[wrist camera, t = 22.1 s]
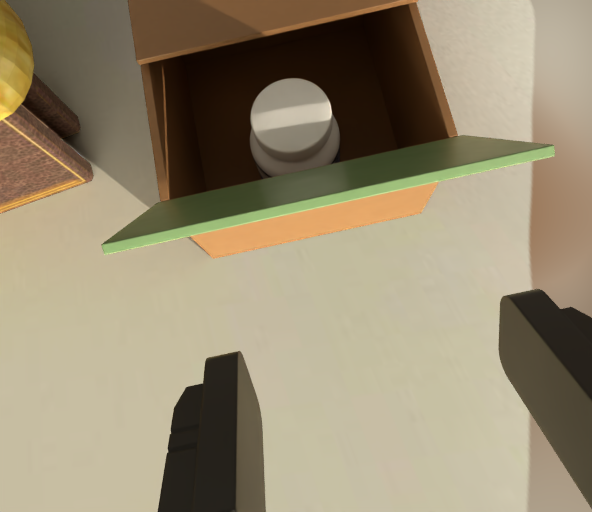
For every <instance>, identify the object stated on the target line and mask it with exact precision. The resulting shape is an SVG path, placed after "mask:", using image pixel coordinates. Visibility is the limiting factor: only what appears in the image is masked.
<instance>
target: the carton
mask: <svg viewBox="0 0 592 512" xmlns="http://www.w3.org/2000/svg"><path fill="white" fill-rule="evenodd" d="M416 2H418V0H128V6H129V12H130V19H131V26H132V33H133V40H134V47H135V54H136V61H137V62H138V64H139V65H141V72H142V79H143V86H144V92H145V99H146V106H147V113H148V120H149V126H150V133H151V140H152V147H153V154H154V160H155V167H156V174H157V181H158V188H159V194H160V201H161V202H163V201H168V200H172V199H177V198H181V197H186V196H190V195H195V194H199V193H204V192H208V191H213V190H217V189H222V188H227V187H231V186H236V185H240V184H245V183H249V182H254V181H258V180H263V179H261V176H260V173H259V171H258V168H257V166H256V163H255V161H254V158H253V156H252V152H251V148H250V133H251V129H252V126H251V119H250V117H251V110H252V106H253V103H254V101H255V99H256V98H257V96H258V95H259V94H260V93H261V91H262V90H264V89H265V88H266V87H267V86H269V85H270V84H272V83H274V82H276V81H279V80H283V79H289V78H298V79H303V80H307V81H310V82H312V83H314V84H315V85H317V86H318V87H319V88H320V89H322V90H323V92H324V93H325V94H326V96H327V98H328V99H329V102H330V105H331V110H332V114H333V116H334V118H335V119H336V121H337V124H338V127H339V132H340V162H344V161H348V160H353V159H358V158H362V157H367V156H371V155H376V154H380V153H385V152H389V151H394V150H398V149H403V148H407V147H412V146H416V145H421V144H425V143H430V142H434V141H439V140H443V139H448V138H452V137H457V136H458V134H457V131H456V128H455V124H454V121H453V118H452V115H451V112H450V109H449V105H448V102H447V99H446V96H445V93H444V90H443V86H442V83H441V80H440V77H439V74H438V70H437V67H436V64H435V61H434V58H433V55H432V51H431V48H430V45H429V42H428V39H427V36H426V32H425V29H424V26H423V23H422V20H421V17H420V13H419V10H418V7H417V4H416ZM338 163H339V162H338ZM334 164H335V163H334ZM329 165H330V164H329ZM325 166H326V165H325ZM320 167H321V166H320ZM316 168H317V167H316ZM311 169H312V168H311ZM307 170H308V169H307ZM302 171H303V170H302ZM298 172H299V171H298ZM293 173H294V172H293ZM288 174H290V173H288ZM284 175H285V174H284ZM279 176H281V175H279ZM275 177H276V176H275ZM270 178H272V177H270ZM266 179H267V178H266ZM437 184H438V182H435V183H430V184H426V185H421V186H417V187H412V188H408V189H403V190H398V191H394V192H389V193H385V194H380V195H376V196H371V197H367V198H362V199H357V200H353V201H348V202H344V203H339V204H335V205H330V206H326V207H321V208H316V209H312V210H307V211H303V212H298V213H294V214H289V215H285V216H280V217H275V218H271V219H266V220H262V221H257V222H253V223H248V224H244V225H239V226H234V227H230V228H225V229H221V230H216V231H212V232H207V233H203V234H198V235H193V236H190V237H191V238H192V239H193V240H194V241H195V242H196V243H197V244H198V245H200V246H201V247H202V248H203V249H204V250H205V251H206V252H207V253H208V254H209V255H210V256H211V257H212V258H218V257H223V256H227V255H232V254H236V253H241V252H245V251H250V250H255V249H259V248H264V247H268V246H273V245H277V244H282V243H287V242H291V241H296V240H300V239H305V238H310V237H314V236H319V235H323V234H328V233H332V232H337V231H342V230H346V229H351V228H355V227H360V226H364V225H369V224H374V223H378V222H383V221H387V220H392V219H397V218H401V217H406V216H410V215H415V214H419V213H421V212H422V210H423V209H424V207H425V205H426V203H427V202H428V200H429V198H430V196H431V195H432V193H433V191H434V189H435V188H436V186H437Z"/></svg>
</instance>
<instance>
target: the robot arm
mask: <svg viewBox="0 0 592 512" xmlns="http://www.w3.org/2000/svg"><path fill="white" fill-rule="evenodd" d="M499 355H500V360H501V363H502V366H503V369H504V371H505V373H506V375H507V377H508V379H509V380H510V382H511V383H512V385H513V387H514V388H515V390H516V391H517V393H518V394H519V396H520V397H521V399H522V401H523V402H524V404H525V405H526V407H527V408H528V410H529V412H530V413H531V415H532V416H533V418H534V419H535V421H536V422H537V424H538V426H539V427H540V429H541V430H542V432H543V433H544V435H545V436H546V438H547V440H548V441H549V443H550V444H551V446H552V447H553V449H554V451H555V452H556V454H557V455H558V457H559V458H560V460H561V461H562V463H563V465H564V466H565V468H566V469H567V471H568V472H569V474H570V476H571V477H572V479H573V480H574V482H575V483H576V485H577V486H578V488H579V490H580V491H581V493H582V494H583V496H584V497H585V499H586V501H587V502H588V504H589V505H590V507H591V508H592V318H591V317H589V316H587V315H585V314H584V313H581V312H580V311H578V310H576V309H574V308H572V307H569V308H565V309H559V307H558V306H557V305H556V304H555V303H554V302H553V301H552V300H551V299H550V298H549V296H548V295H547V294H546V293H545V292H544V291H542V290H540V289H535V290H530V291H526V292H521V293H516V294H511V295H507V296H503V297H502V299H501V302H500V324H499ZM158 512H266V507H265V482H264V457H263V431H262V419H261V412H260V407H259V403H258V399H257V396H256V393H255V390H254V387H253V384H252V381H251V378H250V375H249V372H248V369H247V366H246V363H245V360H244V358H243V355H242V353H241V352H240V351H238V352H233V353H228V354H224V355H219V356H214V357H209V358H207V359H206V362H205V370H204V381H203V384H199V385H194V386H189V387H186V389H185V391H184V392H183V394H182V396H181V397H180V399H179V401H178V402H177V404H176V406H175V407H174V412H173V418H172V425H171V434H170V437H169V444H168V453H167V456H166V463H165V469H164V475H163V482H162V488H161V494H160V501H159V507H158Z"/></svg>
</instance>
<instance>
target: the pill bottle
mask: <svg viewBox="0 0 592 512" xmlns="http://www.w3.org/2000/svg"><path fill="white" fill-rule="evenodd" d="M250 119H251V126H252V129H251V133H250V148H251V152H252V156H253V158H254V161H255V163H256V166H257V168H258V171H259V173H260V176H261V179H266V178H270V177H275V176H279V175H284V174H288V173H293V172H298V171H302V170H307V169H311V168H316V167H320V166H325V165H329V164H334V163H338V162H340V132H339V127H338V124H337V121H336V119H335V118H334V116H333V114H332V110H331V105H330V102H329V99H328V98H327V96H326V94H325V93H324V92H323V90H322V89H320V88H319V87H318V86H317V85H315V84H314V83H312V82H310V81H307V80H303V79H298V78H289V79H283V80H279V81H276V82H274V83H272V84H270V85H269V86H267V87H266V88H265V89H264V90H262V91H261V93H260V94H259V95H258V96H257V98H256V99H255V101H254V103H253V106H252V110H251V117H250Z"/></svg>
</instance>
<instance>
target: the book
mask: <svg viewBox="0 0 592 512" xmlns="http://www.w3.org/2000/svg"><path fill="white" fill-rule="evenodd" d="M33 69H34V60H33V51H32V45H31V43H30V40H29V38H28V35H27V33H26V30H25V28H24V25H23V23H22V20H21V19H20V18H19V17H18V15H17V14H16V13H15V12H14V11H13V9H12V8H11V7H10V6H9V5H8V3H7V2H6V1H5V0H0V213H3V212H6V211H8V210H11V209H14V208H17V207H20V206H22V205H25V204H28V203H31V202H34V201H36V200H39V199H42V198H45V197H47V196H50V195H53V194H56V193H59V192H61V191H64V190H67V189H70V188H73V187H75V186H78V185H81V184H84V183H87V182H89V181H92V178H93V172H92V169H91V165H90V164H89V163H88V162H87V161H86V160H85V159H84V158H82V157H81V156H80V155H79V154H78V153H77V152H75V151H74V150H73V149H72V148H71V147H70V146H68V145H67V144H66V143H65V142H64V141H62V140H61V139H62V138H65V137H67V136H70V135H73V134H76V133H79V130H80V124H79V120H78V117H77V116H76V115H75V114H74V113H73V112H72V111H71V110H70V109H69V108H68V107H67V106H66V105H65V104H64V103H63V102H62V101H61V100H60V99H59V98H58V97H57V96H56V95H55V94H54V93H53V92H52V91H51V90H50V89H49V88H48V87H47V86H46V85H45V84H44V83H43V82H42V81H41V80H40V79H39V78H38V77H37V76H36V75H35V74H34V73H33Z"/></svg>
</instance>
